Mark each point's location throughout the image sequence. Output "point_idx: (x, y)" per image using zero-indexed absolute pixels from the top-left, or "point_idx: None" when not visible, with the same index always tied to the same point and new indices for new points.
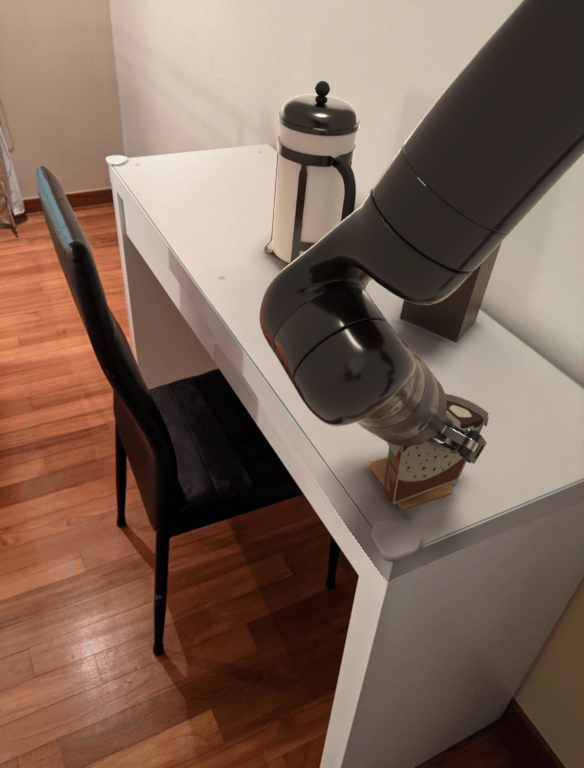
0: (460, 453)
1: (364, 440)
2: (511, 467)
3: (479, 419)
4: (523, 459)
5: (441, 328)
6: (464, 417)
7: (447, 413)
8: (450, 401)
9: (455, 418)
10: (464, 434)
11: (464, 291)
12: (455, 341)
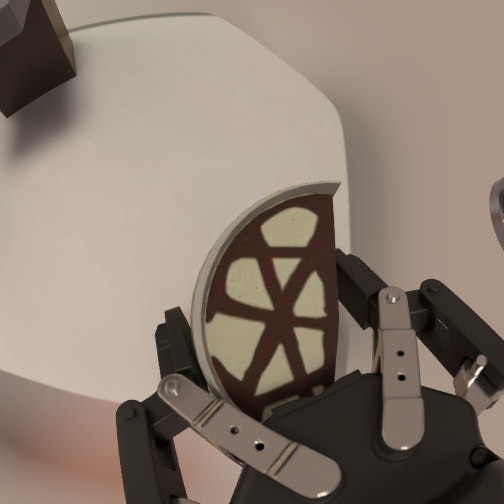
0: (490, 407)
1: (146, 330)
2: (296, 158)
3: (331, 205)
4: (290, 134)
5: (50, 80)
6: (313, 234)
7: (419, 380)
8: (249, 223)
9: (417, 347)
10: (476, 374)
11: (40, 28)
12: (74, 76)
